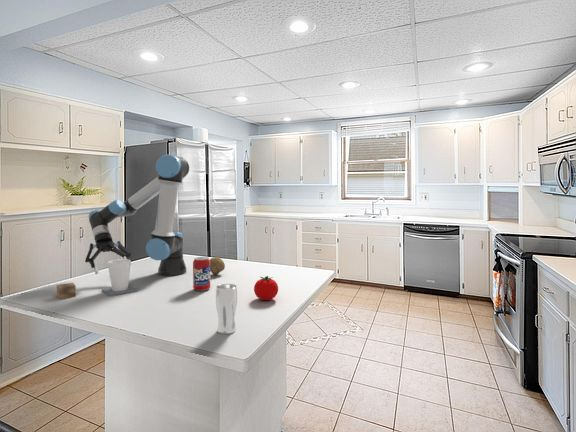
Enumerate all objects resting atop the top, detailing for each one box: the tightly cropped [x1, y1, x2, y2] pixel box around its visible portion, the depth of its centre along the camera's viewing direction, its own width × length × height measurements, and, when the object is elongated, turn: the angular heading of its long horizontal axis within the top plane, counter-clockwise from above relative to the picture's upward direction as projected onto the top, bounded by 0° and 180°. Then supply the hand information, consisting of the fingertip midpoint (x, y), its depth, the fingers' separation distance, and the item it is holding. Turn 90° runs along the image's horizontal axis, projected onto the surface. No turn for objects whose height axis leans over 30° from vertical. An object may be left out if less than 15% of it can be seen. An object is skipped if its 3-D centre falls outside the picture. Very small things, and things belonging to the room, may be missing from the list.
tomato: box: [253, 275, 279, 301], centre depth 143 cm, size 10×10×10 cm
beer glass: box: [215, 283, 238, 335], centre depth 111 cm, size 7×7×15 cm
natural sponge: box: [209, 256, 226, 276], centre depth 184 cm, size 9×9×10 cm
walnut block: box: [56, 282, 77, 300], centre depth 145 cm, size 6×6×5 cm
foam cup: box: [107, 258, 132, 291], centre depth 153 cm, size 10×9×13 cm
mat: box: [101, 283, 139, 297], centre depth 154 cm, size 12×12×1 cm
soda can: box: [192, 256, 211, 292], centre depth 156 cm, size 8×8×15 cm
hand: (112, 270), depth 161 cm, fingers open, 13 cm apart
